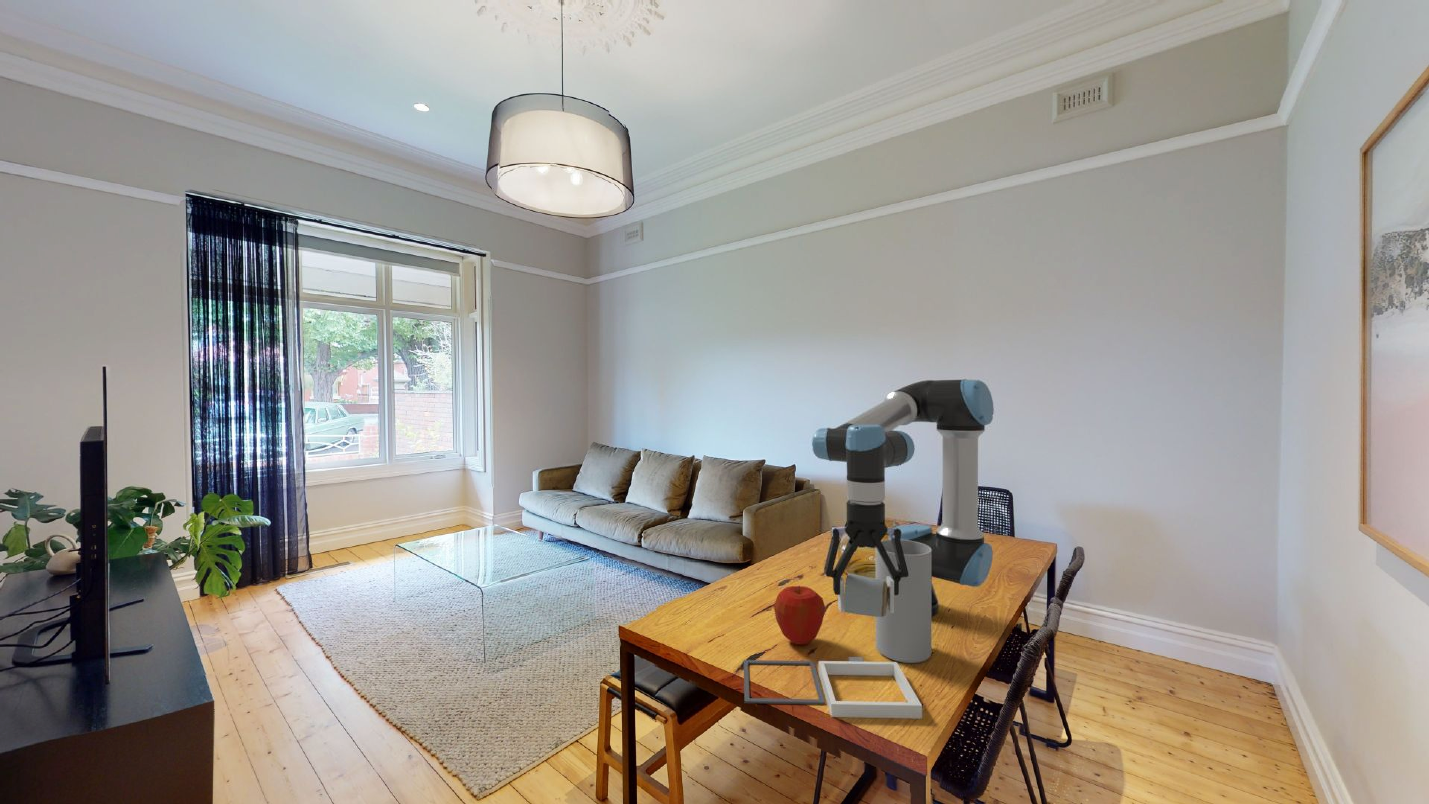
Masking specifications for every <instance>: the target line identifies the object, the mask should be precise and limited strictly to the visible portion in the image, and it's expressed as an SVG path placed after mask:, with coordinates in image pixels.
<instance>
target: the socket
mask: <svg viewBox="0 0 1429 804" xmlns="http://www.w3.org/2000/svg"><path fill="white" fill-rule="evenodd" d="M818 675H819V680H820V683H821V687H822V688H823V694H824V697H825V701H826V703H827V706H828V710H829V712H830V717H831V718H863V719H864V718H865V719H866V718H868V719H869V718H870V719H871V718H872V719H873V718H874V719H915V720H916V719H917V720H920V719H923V705H922V704H921V702H920V700H919V698H918V696H917V694H916V692H915V691H914V690H913V688H912V686H911V684H910V682H909V681H908V679H907V678H906V676H905V674H904V672H903V671H902V669H901V668H900V665H899V664H898V661H864V658H863V657H862V656H848V660H847V661H845V660H844V661H841V660H839V661H838V660H835V661H834V660H819V661H818ZM828 675H829V676H830V675H831V676H882V677H883V676H888V677H893V678H894V679H895V681H896V684H897V686H898V687H899V689H900V690H901V693H902V695H903V696H904V697H905V700H906V701H862V700H861V701H855V700H854V701H853V700H849V701H848V700H845V701H844V700H836V698H835V694H834V691H833V688H832V684H831V682H830V681H831V680H830V679H829V676H828Z"/></svg>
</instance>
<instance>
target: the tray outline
mask: <svg viewBox="0 0 1429 804" xmlns="http://www.w3.org/2000/svg"><path fill="white" fill-rule="evenodd" d="M749 665H774V666H775V665H785V666H787V665H788V666H790V665H791V666H795V665H796V666H810V667H809V668H810V670H811V675H812V678H813V682H814V685H815V689H816V693H817V697H818V698H815V699H814V698H813V699H812V698H811V699H810V698H763V697H761V698H756V697H755V698H754V697H750V679H749V678H750V677H749V674H750V673H749ZM817 671H818V670H817V668H816V665H815V661H813V660H771V659H769V660H768V659H767V660H766V659H763V660H759V659H755V660H754V659H748V660H747V659H743V688H744V689H743V691H744V692H743V693H744V694H743V695H744V704H776V705H777V704H779V705H782V704H783V705H826V698H825V695H824V691H823V690H822V684H821V681H820V677H819V676H818V675H819V674H818V672H817Z"/></svg>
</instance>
